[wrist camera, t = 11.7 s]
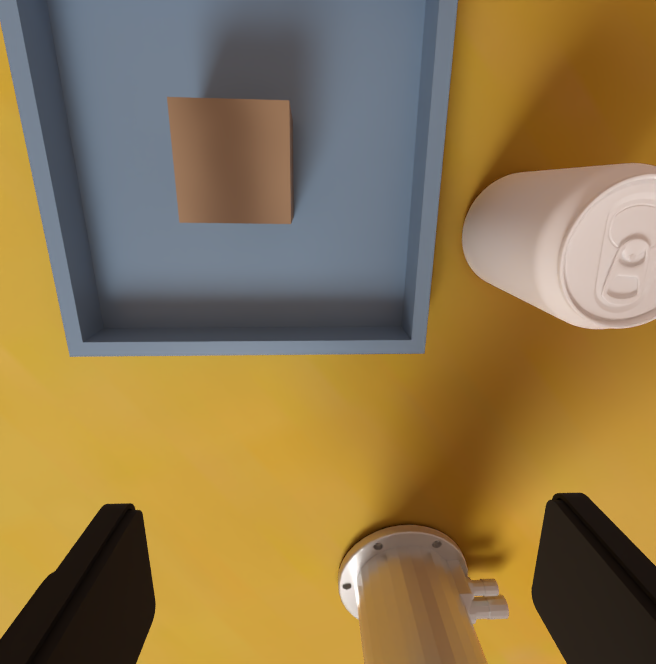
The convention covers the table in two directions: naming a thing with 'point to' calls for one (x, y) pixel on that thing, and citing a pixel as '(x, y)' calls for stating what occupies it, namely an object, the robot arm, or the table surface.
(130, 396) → the table surface
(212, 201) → the walnut block
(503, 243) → the beverage can
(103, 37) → the slate tray
